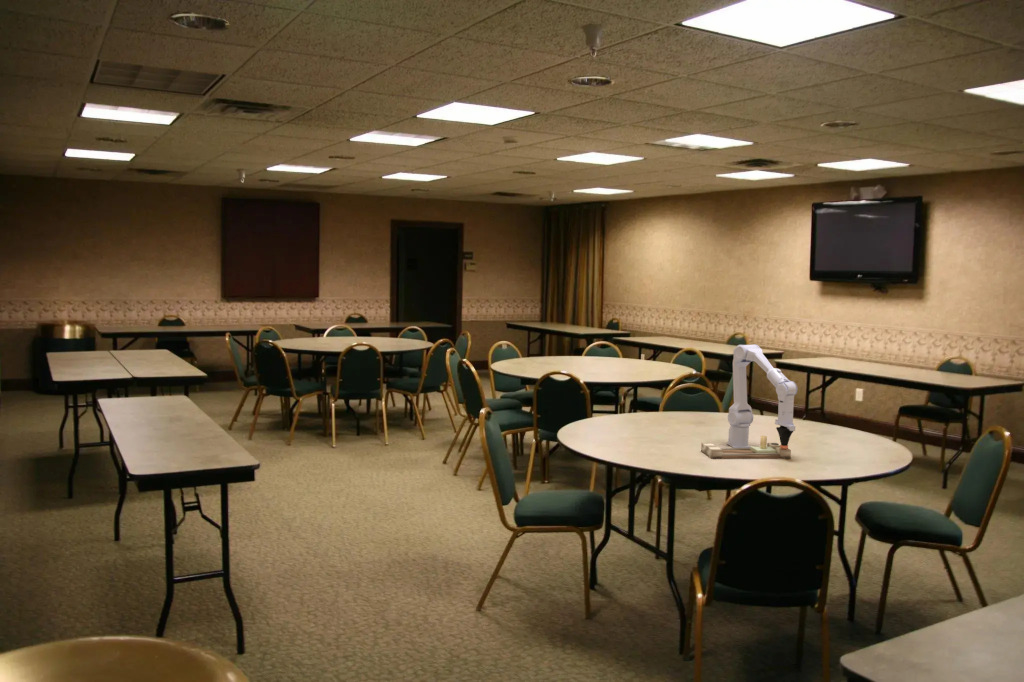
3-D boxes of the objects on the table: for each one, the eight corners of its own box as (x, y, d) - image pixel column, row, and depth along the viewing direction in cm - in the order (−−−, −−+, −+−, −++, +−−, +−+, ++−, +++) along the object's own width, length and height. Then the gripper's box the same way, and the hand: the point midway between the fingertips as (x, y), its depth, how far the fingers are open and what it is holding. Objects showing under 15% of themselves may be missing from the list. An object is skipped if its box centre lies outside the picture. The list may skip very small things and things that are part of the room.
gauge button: (778, 447, 319) (779, 444, 319) (786, 447, 319) (786, 444, 319) (782, 448, 316) (782, 445, 316) (789, 448, 316) (789, 445, 316)
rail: (701, 451, 328) (701, 442, 327) (776, 451, 330) (776, 442, 330) (712, 458, 314) (712, 449, 313) (790, 458, 316) (791, 449, 316)
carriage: (750, 450, 326) (751, 434, 325) (769, 450, 326) (769, 434, 326) (756, 453, 319) (757, 438, 318) (776, 453, 319) (776, 438, 319)
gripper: (768, 408, 323) (767, 441, 325) (783, 414, 309) (782, 449, 310) (785, 408, 324) (783, 441, 325) (801, 414, 310) (799, 449, 311)
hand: (784, 445), depth 318 cm, fingers closed, pressing on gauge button
